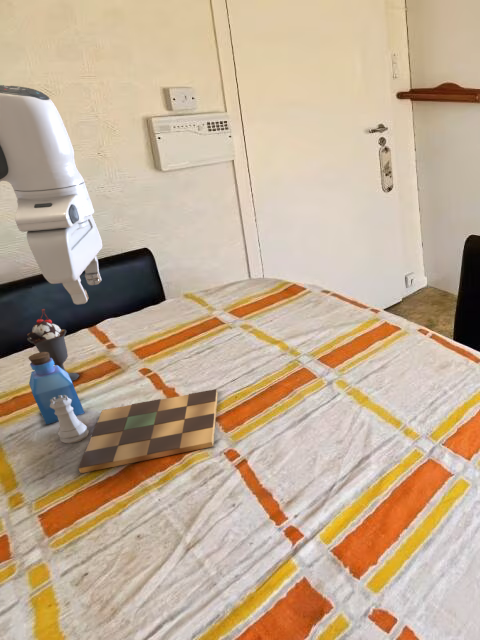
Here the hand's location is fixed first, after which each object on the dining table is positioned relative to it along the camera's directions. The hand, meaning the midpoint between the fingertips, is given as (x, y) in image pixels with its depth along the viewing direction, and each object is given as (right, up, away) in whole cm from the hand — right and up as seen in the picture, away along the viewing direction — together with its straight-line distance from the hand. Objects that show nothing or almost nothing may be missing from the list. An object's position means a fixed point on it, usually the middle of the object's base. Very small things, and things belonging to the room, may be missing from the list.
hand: (89, 292), depth 100 cm
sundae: (-26, -14, +31) cm, 43 cm away
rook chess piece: (-10, -24, +11) cm, 28 cm away
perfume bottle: (-18, -20, +19) cm, 33 cm away
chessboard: (+4, -23, +12) cm, 26 cm away
